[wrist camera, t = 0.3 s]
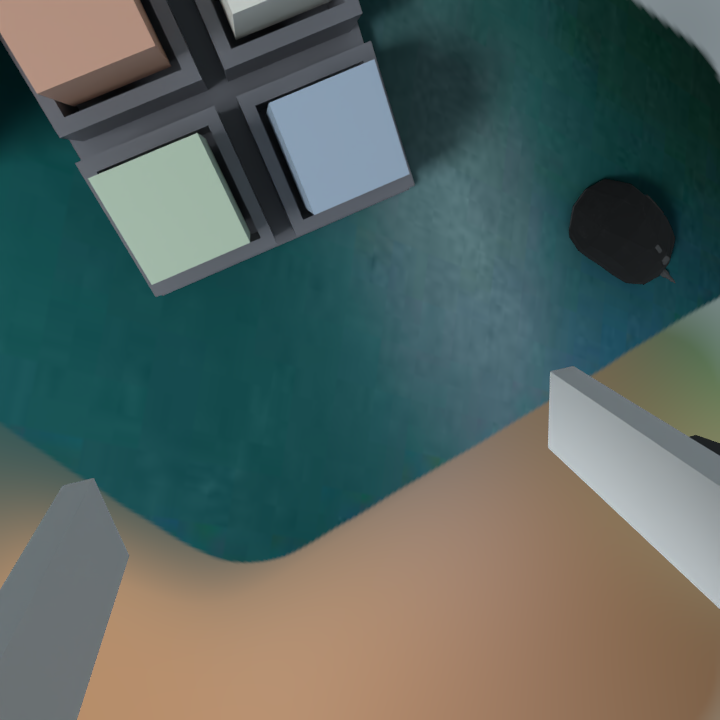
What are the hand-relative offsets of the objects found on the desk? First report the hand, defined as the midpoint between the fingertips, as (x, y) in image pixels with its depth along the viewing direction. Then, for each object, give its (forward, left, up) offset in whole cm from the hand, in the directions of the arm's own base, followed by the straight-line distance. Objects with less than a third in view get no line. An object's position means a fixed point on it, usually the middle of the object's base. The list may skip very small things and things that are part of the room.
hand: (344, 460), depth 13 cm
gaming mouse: (+10, +29, -26) cm, 41 cm away
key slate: (-8, +6, -22) cm, 24 cm away
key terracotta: (-18, -4, -22) cm, 28 cm away
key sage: (-8, -4, -22) cm, 23 cm away
